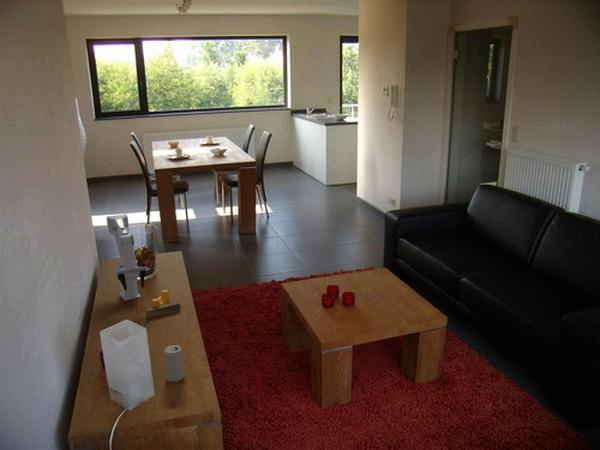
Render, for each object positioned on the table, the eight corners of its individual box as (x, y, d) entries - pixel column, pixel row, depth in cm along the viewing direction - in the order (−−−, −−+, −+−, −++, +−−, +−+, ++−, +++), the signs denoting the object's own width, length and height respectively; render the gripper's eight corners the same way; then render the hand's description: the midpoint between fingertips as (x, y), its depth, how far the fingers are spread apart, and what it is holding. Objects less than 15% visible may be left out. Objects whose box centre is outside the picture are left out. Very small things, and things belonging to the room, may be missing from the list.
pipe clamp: (161, 301, 243) (159, 289, 241) (169, 302, 242) (168, 290, 240) (149, 313, 231) (148, 300, 230) (158, 313, 231) (157, 300, 229)
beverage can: (185, 381, 179) (182, 351, 176) (166, 384, 177) (163, 354, 174) (183, 371, 185) (181, 343, 182) (165, 374, 183) (163, 345, 180)
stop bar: (146, 316, 228) (145, 309, 227) (178, 308, 236) (178, 301, 235) (148, 318, 226) (147, 311, 225) (180, 310, 234) (179, 303, 233)
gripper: (114, 260, 226) (119, 289, 223) (147, 255, 233) (152, 284, 231) (112, 263, 231) (116, 292, 229) (143, 259, 239) (148, 287, 236)
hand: (134, 288), depth 230 cm, fingers open, 7 cm apart
